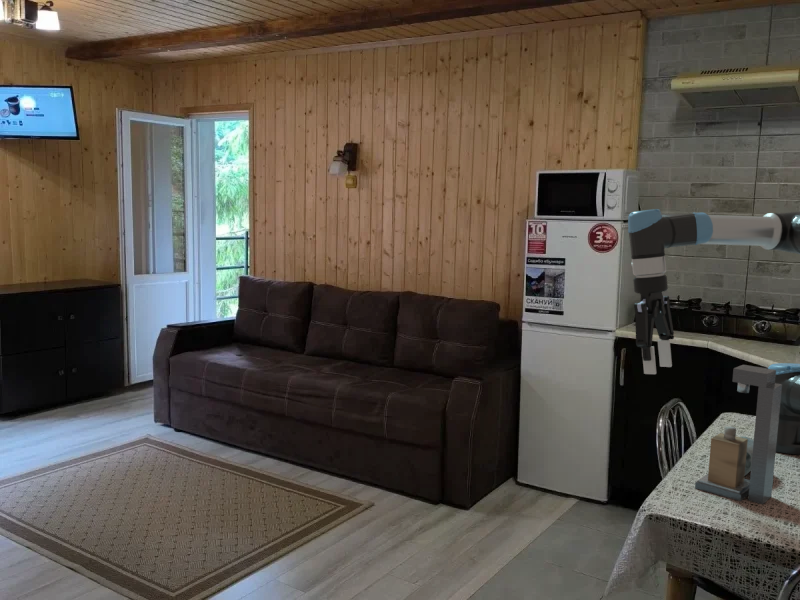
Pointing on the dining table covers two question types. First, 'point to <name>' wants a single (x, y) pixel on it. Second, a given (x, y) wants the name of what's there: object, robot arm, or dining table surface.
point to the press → (755, 437)
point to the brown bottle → (727, 458)
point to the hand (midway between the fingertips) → (658, 370)
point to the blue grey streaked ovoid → (748, 455)
